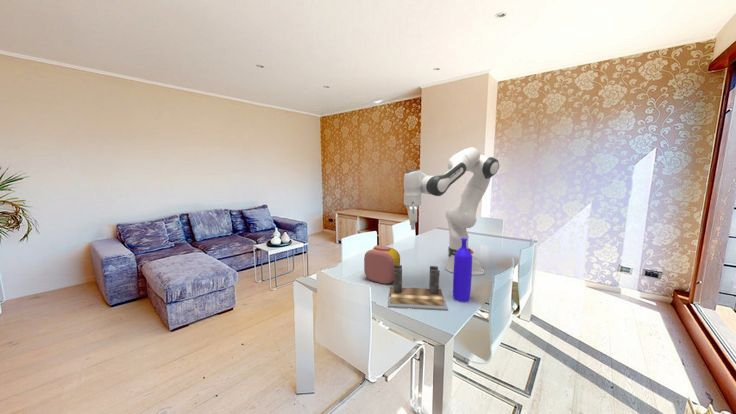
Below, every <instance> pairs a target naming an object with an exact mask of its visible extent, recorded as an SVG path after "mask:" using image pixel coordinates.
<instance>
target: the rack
mask: <svg viewBox="0 0 736 414" xmlns="http://www.w3.org/2000/svg"><path fill="white" fill-rule="evenodd" d="M440 272H441V271H440V270H439V266H436V265H434V266H433V265H429V282H428V283H429V284H428V288H426V287H425V288H424V287H404V286H403V265H402V264H400V265H394V280H393V286H389V298H391V294H397V295H418V296H440V297H443V298H444V295H443V291H442V289H441V288H440Z"/></svg>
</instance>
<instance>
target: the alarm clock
mask: <svg viewBox="0 0 736 414" xmlns="http://www.w3.org/2000/svg"><path fill="white" fill-rule="evenodd" d="M363 263H364V264H363V265H364V266H363V269H364V271H363V272H364V275H365V277H366V278H367V279H368V280H369V281H372V282H375V283H380V284H385V285H386V284H387V285H388V284H390V283H392V282H394V265H401V256H400V253H399V252H398V250H397V249H395V248H393V247H390V246H385V245H378V244H377V245H374V246H373V247H372V248H371V249H369V250H367V251H366V253H364V261H363Z"/></svg>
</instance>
